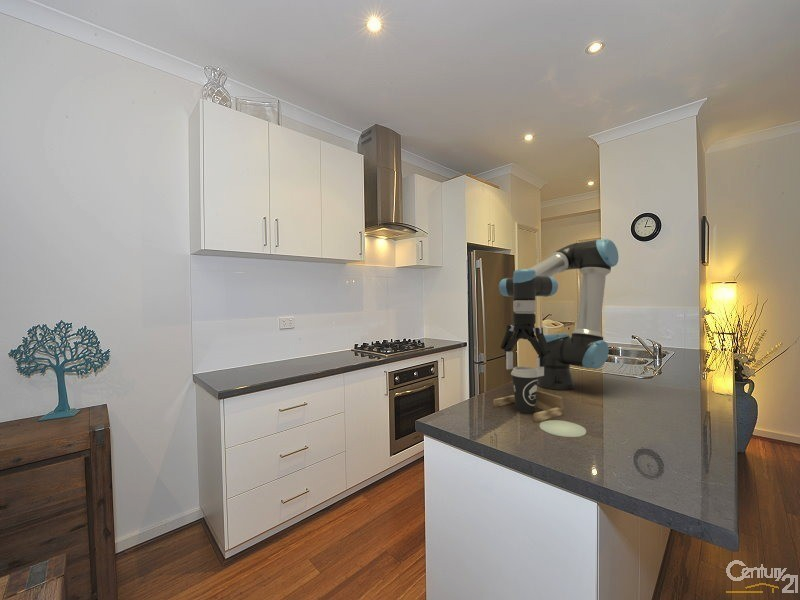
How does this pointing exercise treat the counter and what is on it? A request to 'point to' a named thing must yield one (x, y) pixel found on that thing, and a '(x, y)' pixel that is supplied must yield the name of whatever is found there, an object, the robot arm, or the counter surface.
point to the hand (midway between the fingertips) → (524, 372)
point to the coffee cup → (525, 388)
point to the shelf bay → (539, 405)
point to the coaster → (562, 428)
